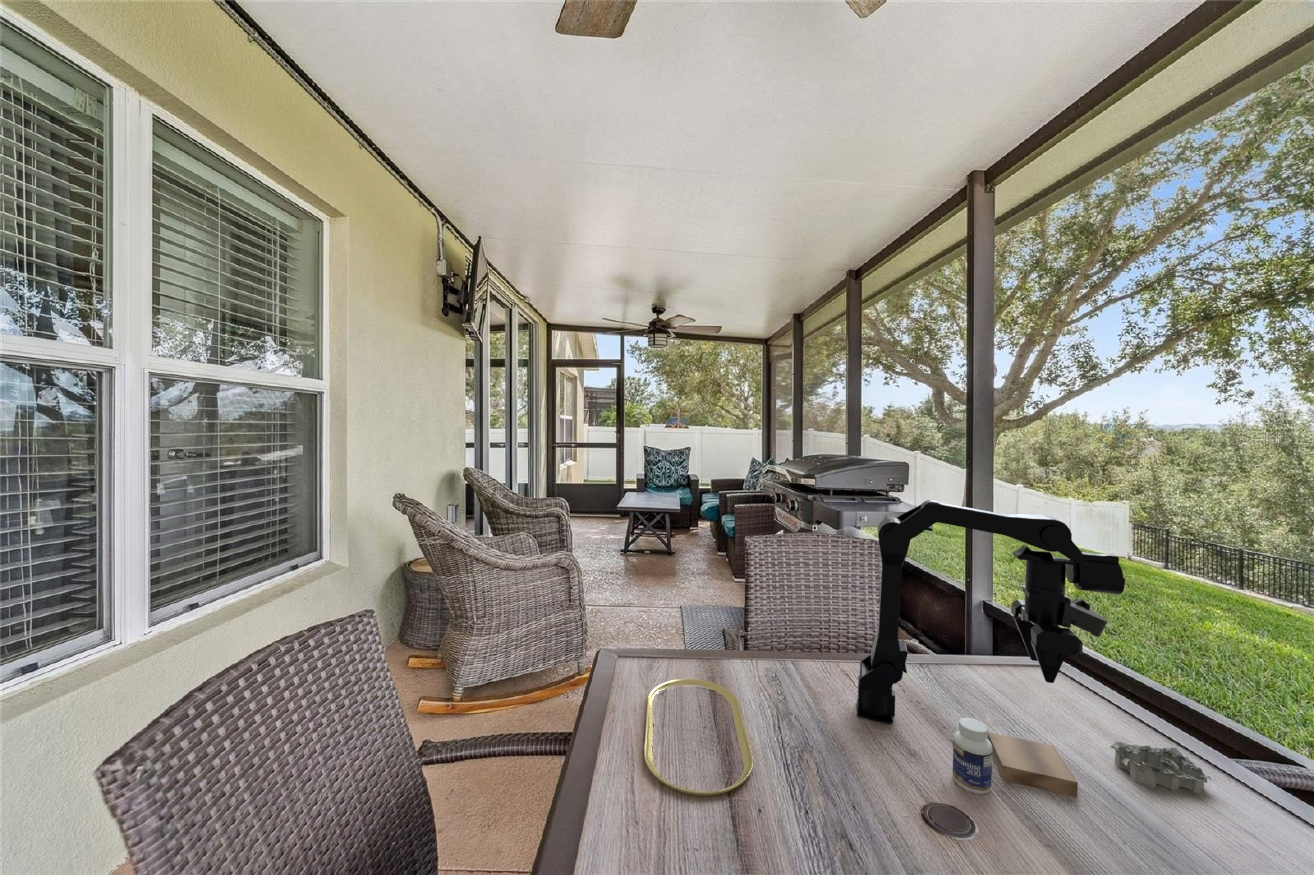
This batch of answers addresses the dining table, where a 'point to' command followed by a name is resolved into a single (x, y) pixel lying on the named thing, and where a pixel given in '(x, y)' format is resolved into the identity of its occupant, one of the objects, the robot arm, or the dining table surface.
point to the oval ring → (738, 725)
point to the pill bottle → (972, 756)
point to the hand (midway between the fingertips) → (1041, 670)
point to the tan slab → (1032, 764)
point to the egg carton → (1159, 766)
